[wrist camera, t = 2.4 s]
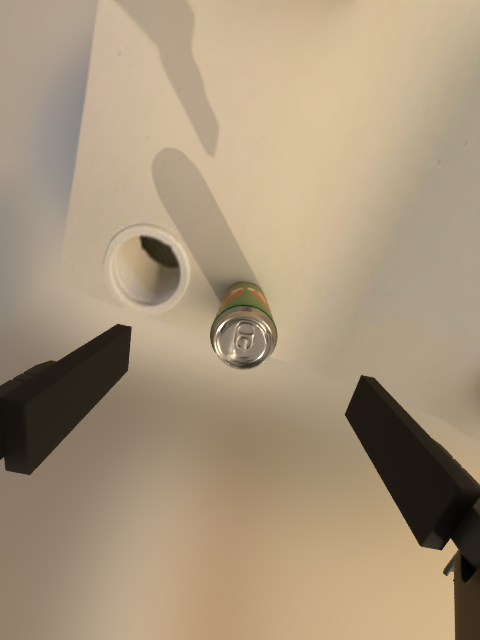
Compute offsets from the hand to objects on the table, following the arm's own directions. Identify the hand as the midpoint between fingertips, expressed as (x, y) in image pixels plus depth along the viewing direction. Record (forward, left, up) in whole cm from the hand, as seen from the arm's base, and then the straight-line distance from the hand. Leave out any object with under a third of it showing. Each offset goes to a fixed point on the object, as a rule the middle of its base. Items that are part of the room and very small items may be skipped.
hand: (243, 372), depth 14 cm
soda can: (0, 0, -16) cm, 16 cm away
